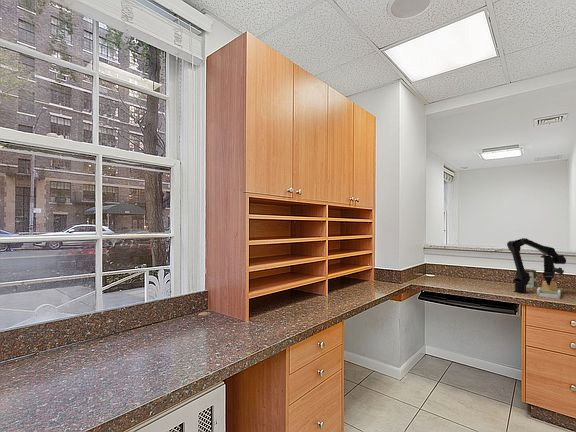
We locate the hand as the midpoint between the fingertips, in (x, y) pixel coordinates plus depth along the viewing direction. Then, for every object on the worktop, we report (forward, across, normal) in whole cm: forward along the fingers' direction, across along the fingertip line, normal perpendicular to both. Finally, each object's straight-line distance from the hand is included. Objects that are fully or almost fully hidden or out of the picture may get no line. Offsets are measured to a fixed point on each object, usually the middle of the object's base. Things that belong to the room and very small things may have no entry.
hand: (549, 284), depth 230 cm
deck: (+6, -4, 0) cm, 8 cm away
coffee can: (+7, +19, +14) cm, 24 cm away
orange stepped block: (+4, 0, 0) cm, 4 cm away
